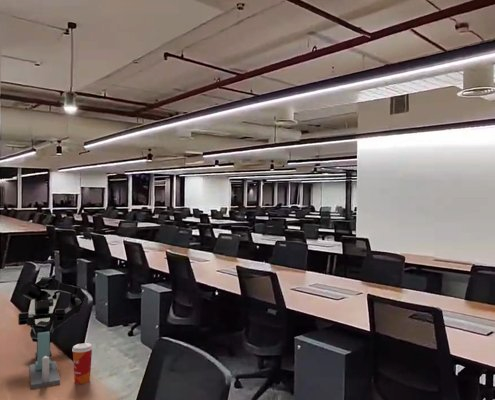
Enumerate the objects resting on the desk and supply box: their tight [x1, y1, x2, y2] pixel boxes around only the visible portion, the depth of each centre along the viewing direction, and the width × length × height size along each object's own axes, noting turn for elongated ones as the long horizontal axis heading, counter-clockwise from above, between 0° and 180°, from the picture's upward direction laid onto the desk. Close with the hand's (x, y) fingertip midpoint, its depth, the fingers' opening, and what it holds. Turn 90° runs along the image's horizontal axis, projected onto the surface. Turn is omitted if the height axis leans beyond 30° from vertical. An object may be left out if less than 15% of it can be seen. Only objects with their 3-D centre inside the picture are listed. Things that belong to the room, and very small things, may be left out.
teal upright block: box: [34, 331, 52, 370], centre depth 182 cm, size 9×6×14 cm, turn 28°
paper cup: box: [71, 342, 93, 385], centre depth 174 cm, size 8×8×14 cm
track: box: [29, 356, 61, 389], centre depth 179 cm, size 23×10×10 cm, turn 27°
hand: (42, 333), depth 191 cm, fingers open, 5 cm apart
